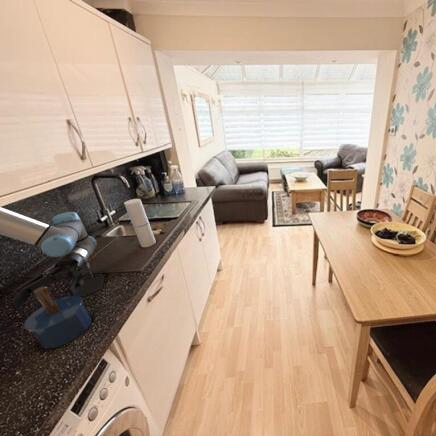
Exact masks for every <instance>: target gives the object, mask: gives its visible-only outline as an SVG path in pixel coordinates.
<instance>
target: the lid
mask: <svg viewBox="0 0 436 436" xmlns="http://www.w3.org/2000/svg"><path fill="white" fill-rule="evenodd" d="M32 294H34V296H35V297H36V299H37V300H38V302H39V303H40V304H41V307H39V308H38V309H36V310H35V311H34V312H33V313H31V315H30V316H28V318H27V319H26V320H25V322H24V324H23V325H24V328H25V329H26V331H28V332H31V331H41V330H45V329H48V328H51V327H53V326H55V325H58V324H60V323H61V322H63V321H65V320H66V319H68V318H69V317H71V316H72V315H73V314H75V313H76V312H77V311H78V310H79V308H80V307H81V305H82V304H83V299H82V297H78V296H68V297H67V296H64V297H61V298H58V299H55V298H54V297H53V295H52V293H51V292H50V291H49V289H48V288H47V286H46V285H45V286H43V287H40V288H37V289H36V290H34V291H33V293H32Z"/></svg>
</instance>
